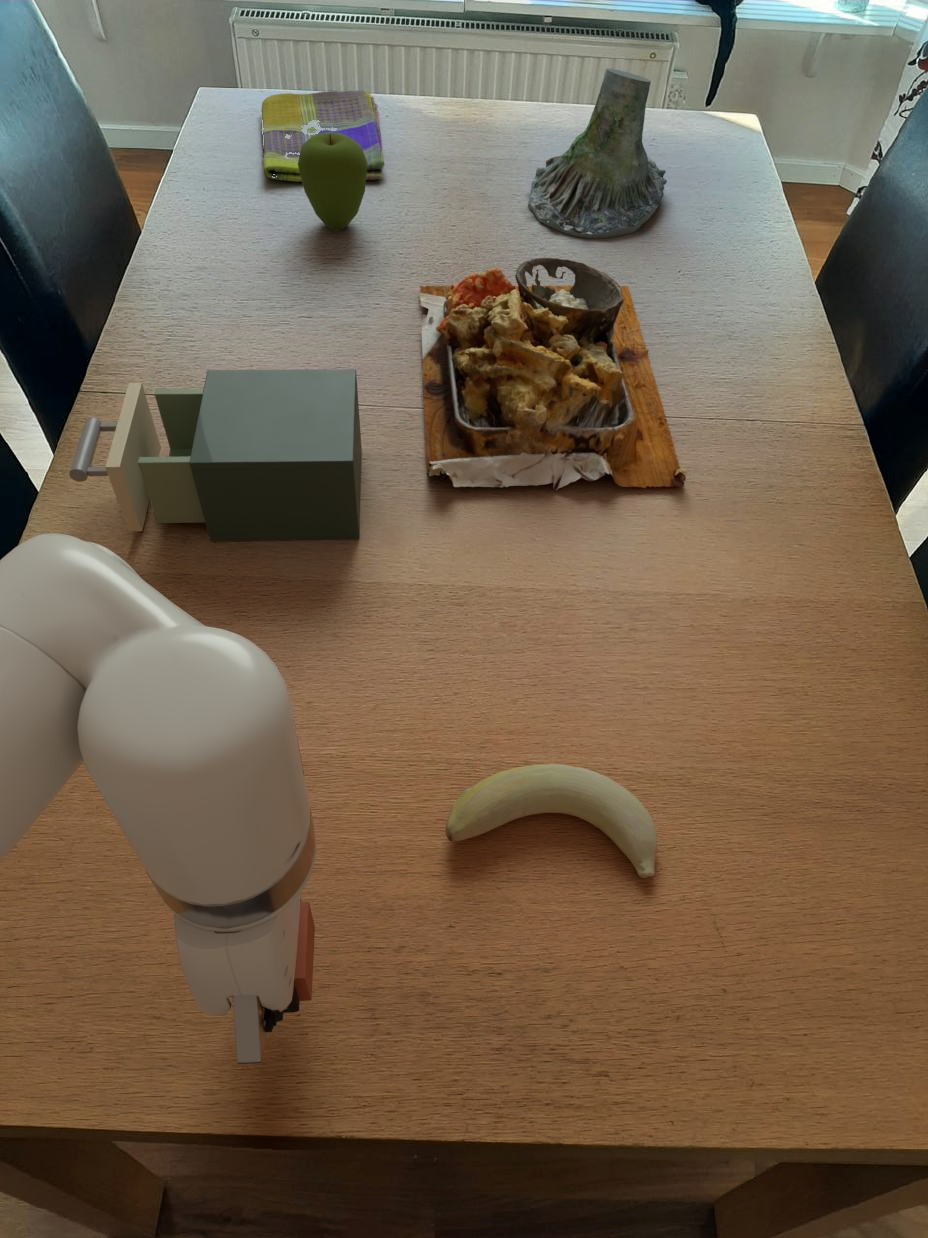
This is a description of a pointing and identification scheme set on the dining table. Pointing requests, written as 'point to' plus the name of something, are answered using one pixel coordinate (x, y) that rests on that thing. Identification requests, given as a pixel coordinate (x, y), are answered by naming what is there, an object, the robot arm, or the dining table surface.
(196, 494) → the drawer
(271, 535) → the cabinet
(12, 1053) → the dining table surface
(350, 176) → the apple
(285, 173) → the dish towel
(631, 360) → the food tray
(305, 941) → the block
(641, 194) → the tree stump
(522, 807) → the fruit
